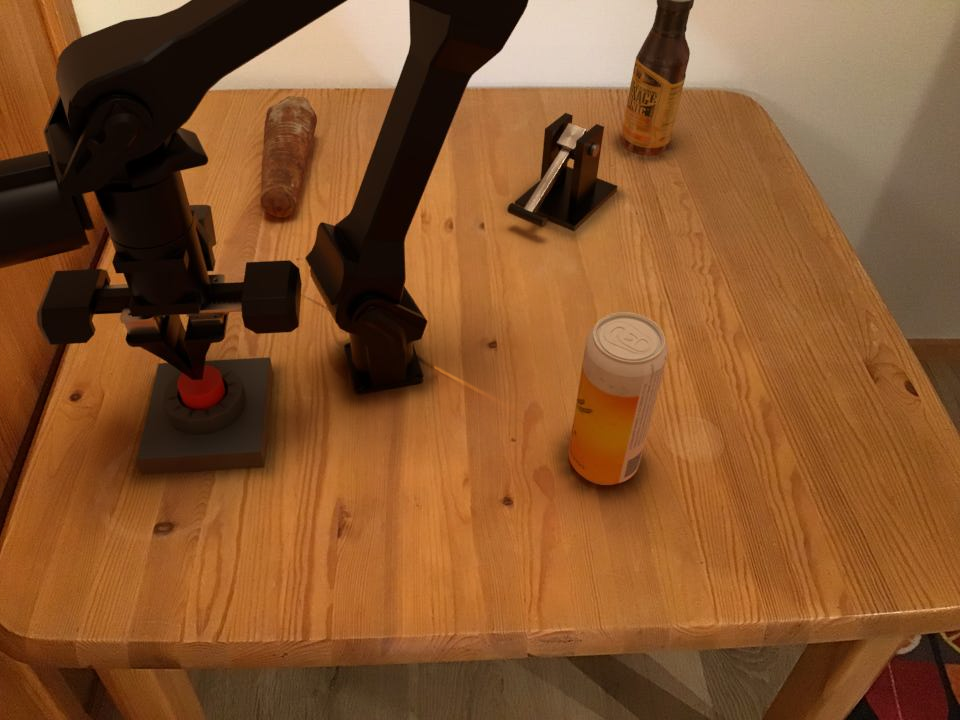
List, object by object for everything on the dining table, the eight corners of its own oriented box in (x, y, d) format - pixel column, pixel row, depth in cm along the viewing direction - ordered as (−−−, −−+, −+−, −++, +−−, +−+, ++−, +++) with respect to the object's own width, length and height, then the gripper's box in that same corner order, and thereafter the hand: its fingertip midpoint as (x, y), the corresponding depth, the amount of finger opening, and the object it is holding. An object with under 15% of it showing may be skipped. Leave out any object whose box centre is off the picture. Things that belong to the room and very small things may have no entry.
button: (222, 408, 71) (218, 394, 70) (178, 411, 71) (174, 397, 70) (227, 377, 74) (223, 363, 73) (185, 380, 74) (180, 365, 72)
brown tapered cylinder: (320, 134, 109) (315, 94, 105) (302, 223, 96) (295, 181, 92) (271, 133, 109) (264, 93, 105) (245, 223, 95) (237, 181, 91)
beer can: (593, 423, 76) (616, 297, 65) (651, 458, 73) (686, 333, 63) (553, 464, 73) (571, 339, 62) (613, 502, 70) (642, 378, 59)
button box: (264, 467, 72) (257, 437, 69) (143, 475, 71) (130, 445, 68) (273, 373, 79) (267, 343, 76) (164, 379, 78) (153, 349, 76)
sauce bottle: (610, 139, 110) (634, -17, 96) (651, 129, 112) (680, -25, 98) (637, 165, 106) (667, 6, 92) (679, 154, 108) (714, -3, 93)
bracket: (573, 235, 95) (583, 159, 88) (514, 209, 98) (519, 134, 91) (616, 194, 101) (628, 120, 94) (559, 171, 104) (567, 98, 97)
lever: (543, 232, 93) (539, 221, 90) (509, 217, 94) (504, 206, 92) (598, 144, 95) (595, 132, 92) (563, 131, 96) (560, 119, 94)
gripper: (291, 157, 66) (314, 305, 77) (43, 165, 65) (103, 316, 76) (282, 245, 58) (310, 396, 70) (0, 257, 57) (74, 410, 68)
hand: (198, 375), depth 71 cm, fingers closed
